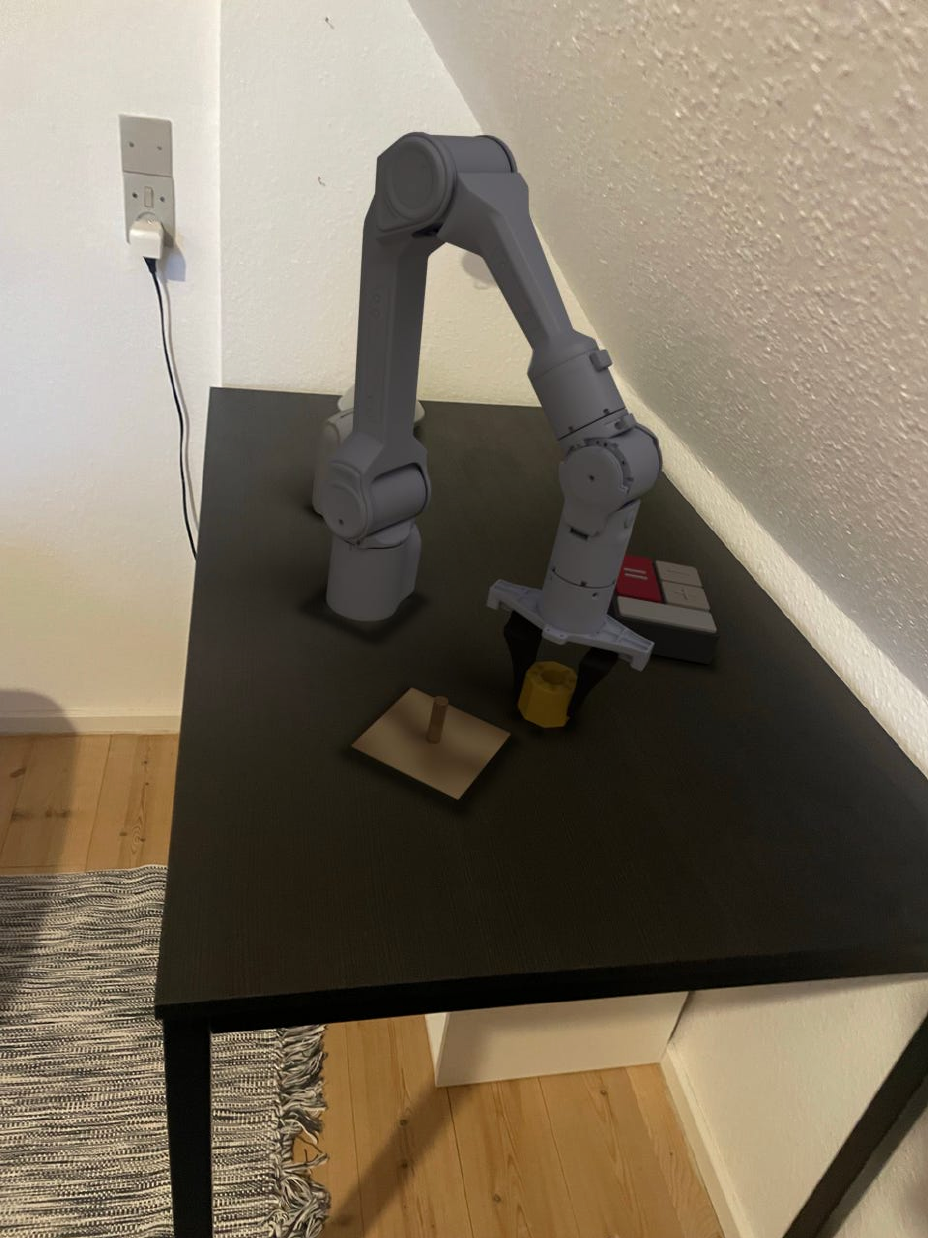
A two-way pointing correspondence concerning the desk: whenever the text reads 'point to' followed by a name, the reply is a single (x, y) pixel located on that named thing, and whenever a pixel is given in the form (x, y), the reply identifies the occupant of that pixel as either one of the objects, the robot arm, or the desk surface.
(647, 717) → the desk surface
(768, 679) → the desk surface
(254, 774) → the desk surface
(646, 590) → the calculator
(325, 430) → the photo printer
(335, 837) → the desk surface
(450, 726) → the stand
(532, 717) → the sleeve
